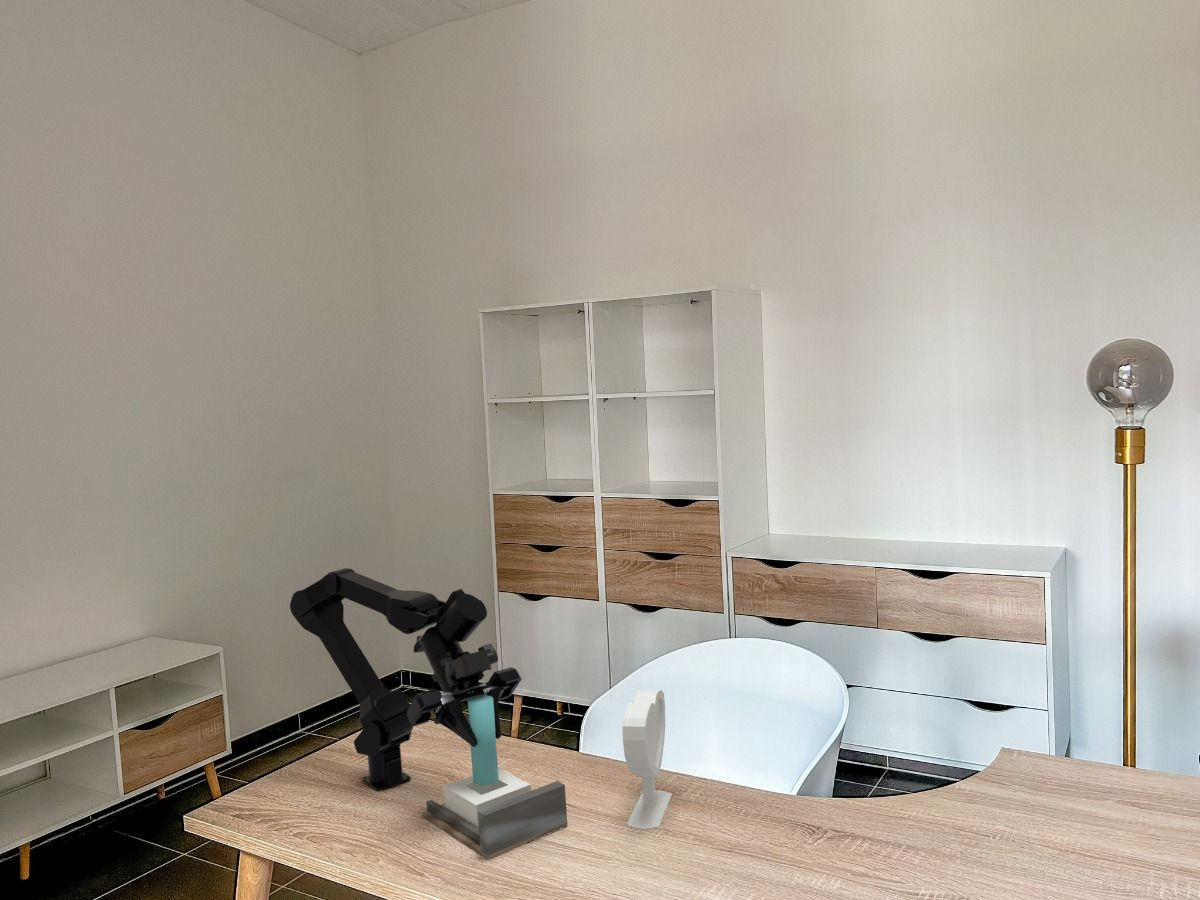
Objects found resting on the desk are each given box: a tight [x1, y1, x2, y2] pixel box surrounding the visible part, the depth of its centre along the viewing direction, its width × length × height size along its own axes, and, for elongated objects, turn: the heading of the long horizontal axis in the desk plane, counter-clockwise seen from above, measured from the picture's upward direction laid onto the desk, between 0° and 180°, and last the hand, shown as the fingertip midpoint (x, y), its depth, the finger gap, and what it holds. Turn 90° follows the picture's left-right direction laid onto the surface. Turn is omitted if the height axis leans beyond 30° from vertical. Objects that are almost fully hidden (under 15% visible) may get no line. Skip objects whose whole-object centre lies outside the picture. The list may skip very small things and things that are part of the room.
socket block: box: [443, 767, 532, 829], centre depth 152 cm, size 10×10×5 cm
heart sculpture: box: [622, 689, 673, 830], centre depth 152 cm, size 16×5×18 cm, turn 165°
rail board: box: [421, 780, 568, 860], centre depth 151 cm, size 20×14×7 cm
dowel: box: [467, 695, 499, 785], centre depth 151 cm, size 4×4×13 cm
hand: (487, 741), depth 150 cm, fingers closed on dowel, 4 cm apart
